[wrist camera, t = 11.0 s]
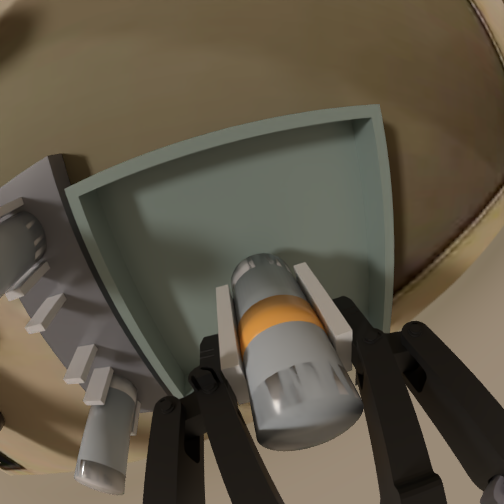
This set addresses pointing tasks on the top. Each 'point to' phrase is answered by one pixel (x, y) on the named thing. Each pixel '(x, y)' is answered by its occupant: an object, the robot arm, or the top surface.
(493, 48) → the top surface
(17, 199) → the fuse block
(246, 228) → the tray
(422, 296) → the top surface
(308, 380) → the marked fuse
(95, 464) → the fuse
